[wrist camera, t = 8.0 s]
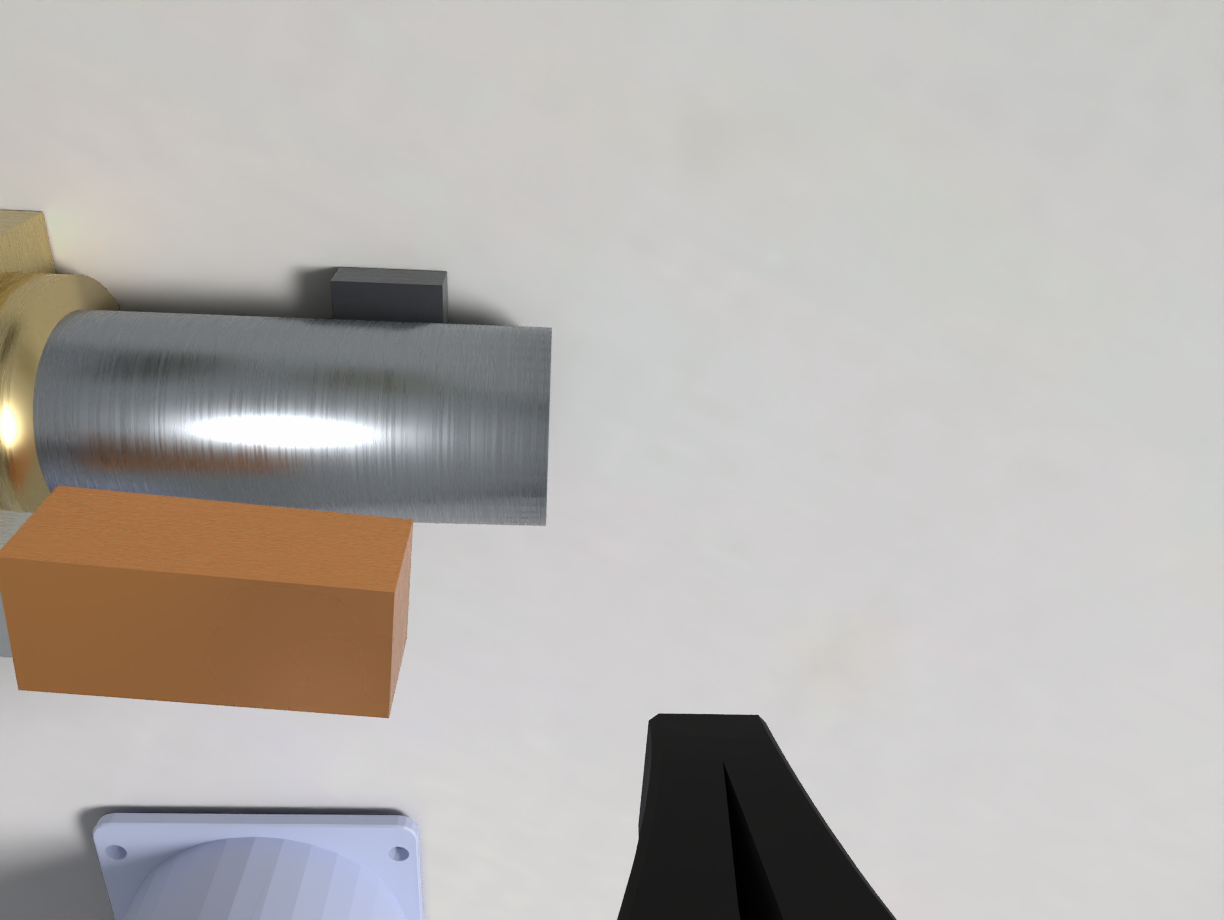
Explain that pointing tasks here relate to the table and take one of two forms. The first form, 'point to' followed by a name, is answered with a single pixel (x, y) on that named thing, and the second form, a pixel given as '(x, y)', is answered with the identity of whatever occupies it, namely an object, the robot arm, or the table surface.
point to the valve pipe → (270, 398)
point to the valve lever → (205, 601)
